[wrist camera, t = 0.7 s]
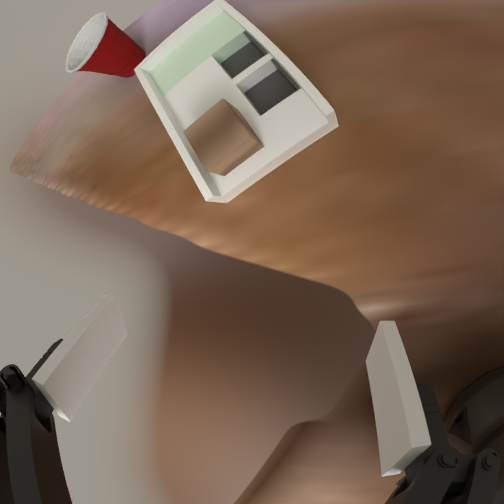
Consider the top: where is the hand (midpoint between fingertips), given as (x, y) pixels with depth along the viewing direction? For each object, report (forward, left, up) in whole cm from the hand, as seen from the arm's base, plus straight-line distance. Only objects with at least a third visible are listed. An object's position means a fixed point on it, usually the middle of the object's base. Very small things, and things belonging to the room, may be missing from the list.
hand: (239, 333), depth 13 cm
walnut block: (+16, 0, -17) cm, 23 cm away
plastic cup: (+44, +7, -20) cm, 48 cm away
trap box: (+24, -3, -20) cm, 31 cm away
